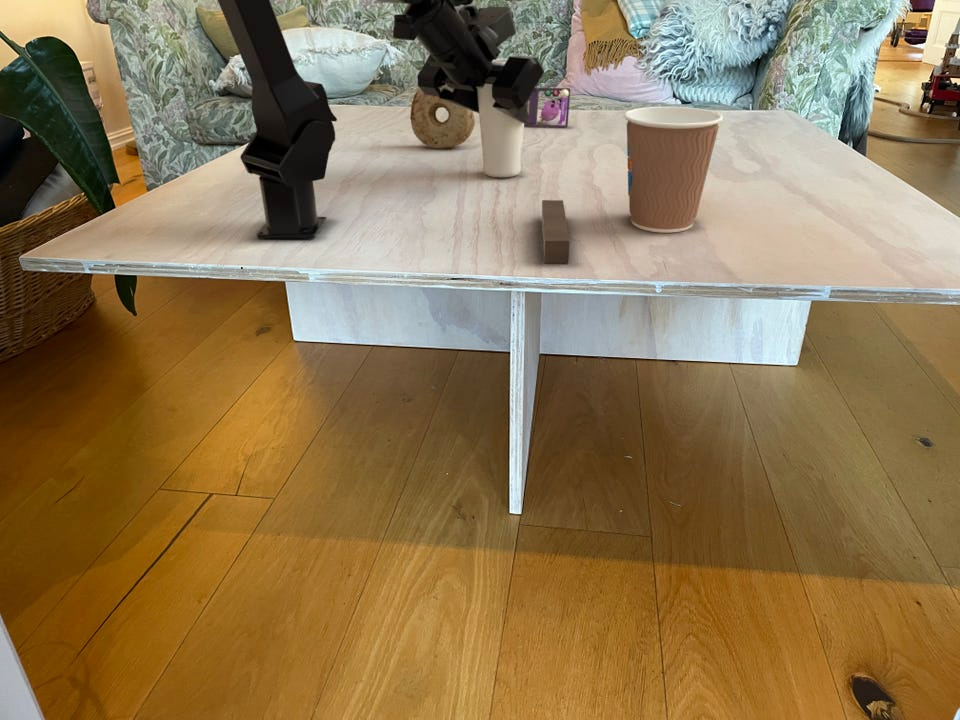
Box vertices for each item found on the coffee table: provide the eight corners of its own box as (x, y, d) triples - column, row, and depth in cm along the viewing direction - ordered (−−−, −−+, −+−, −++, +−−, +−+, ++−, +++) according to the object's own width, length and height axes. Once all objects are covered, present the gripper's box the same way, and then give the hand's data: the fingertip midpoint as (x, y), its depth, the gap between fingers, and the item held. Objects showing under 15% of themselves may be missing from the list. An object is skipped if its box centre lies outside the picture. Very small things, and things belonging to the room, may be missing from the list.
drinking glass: (522, 180, 101) (524, 62, 94) (473, 178, 102) (472, 62, 96) (529, 169, 107) (531, 58, 100) (483, 168, 108) (482, 58, 101)
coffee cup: (643, 205, 91) (652, 103, 85) (723, 220, 85) (739, 112, 79) (599, 226, 84) (606, 116, 78) (683, 244, 78) (697, 127, 72)
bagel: (408, 149, 120) (404, 84, 115) (415, 144, 123) (412, 80, 118) (470, 151, 118) (469, 85, 113) (476, 146, 121) (475, 82, 116)
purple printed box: (520, 86, 133) (569, 87, 131) (524, 92, 138) (572, 93, 136) (517, 125, 134) (566, 126, 132) (522, 129, 139) (569, 131, 137)
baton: (568, 263, 74) (569, 240, 73) (544, 263, 74) (545, 240, 73) (562, 220, 86) (563, 200, 85) (541, 220, 86) (542, 200, 85)
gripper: (535, -17, 85) (590, 75, 97) (429, -18, 97) (489, 64, 109) (487, 63, 84) (548, 146, 96) (386, 52, 96) (452, 127, 108)
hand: (508, 117), depth 102 cm, fingers closed on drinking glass, 6 cm apart
